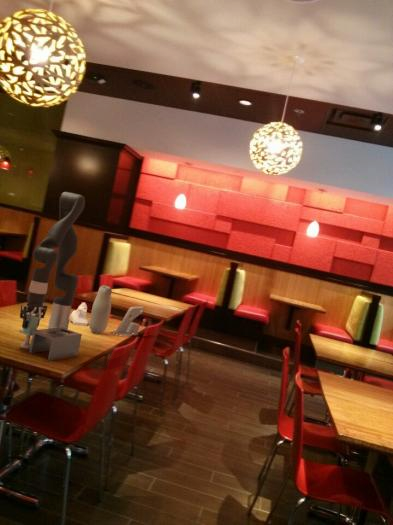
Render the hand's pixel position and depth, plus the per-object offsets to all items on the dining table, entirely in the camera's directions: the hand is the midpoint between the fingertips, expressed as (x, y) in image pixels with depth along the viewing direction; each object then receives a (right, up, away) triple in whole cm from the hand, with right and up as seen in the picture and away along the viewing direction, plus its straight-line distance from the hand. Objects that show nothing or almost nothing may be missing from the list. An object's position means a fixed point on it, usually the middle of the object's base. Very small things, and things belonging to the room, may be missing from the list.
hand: (30, 327), depth 198 cm
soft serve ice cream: (+2, -8, +74) cm, 75 cm away
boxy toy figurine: (-2, -9, 0) cm, 9 cm away
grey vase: (+16, -12, +59) cm, 62 cm away
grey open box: (+11, -12, 0) cm, 16 cm away
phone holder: (+31, -15, +74) cm, 81 cm away
